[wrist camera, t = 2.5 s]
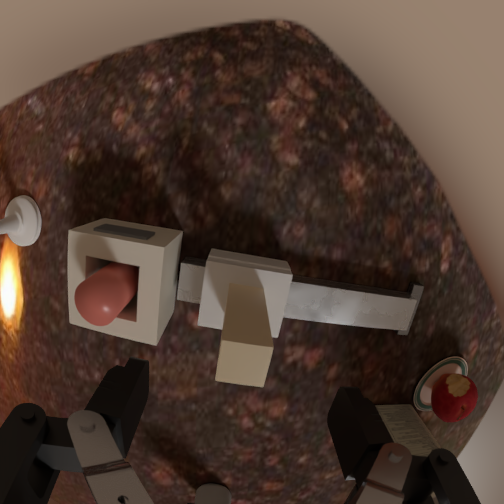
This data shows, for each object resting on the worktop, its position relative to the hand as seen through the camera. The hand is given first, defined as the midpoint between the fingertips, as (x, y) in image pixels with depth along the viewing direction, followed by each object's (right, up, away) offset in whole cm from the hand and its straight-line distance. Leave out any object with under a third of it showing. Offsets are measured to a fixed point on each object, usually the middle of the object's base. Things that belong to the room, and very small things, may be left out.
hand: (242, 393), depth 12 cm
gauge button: (-9, +4, +10) cm, 14 cm away
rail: (+5, +2, +14) cm, 15 cm away
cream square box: (-9, +5, +13) cm, 17 cm away
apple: (+23, -10, +18) cm, 30 cm away
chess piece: (-22, +9, +12) cm, 26 cm away
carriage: (0, +3, +14) cm, 14 cm away
